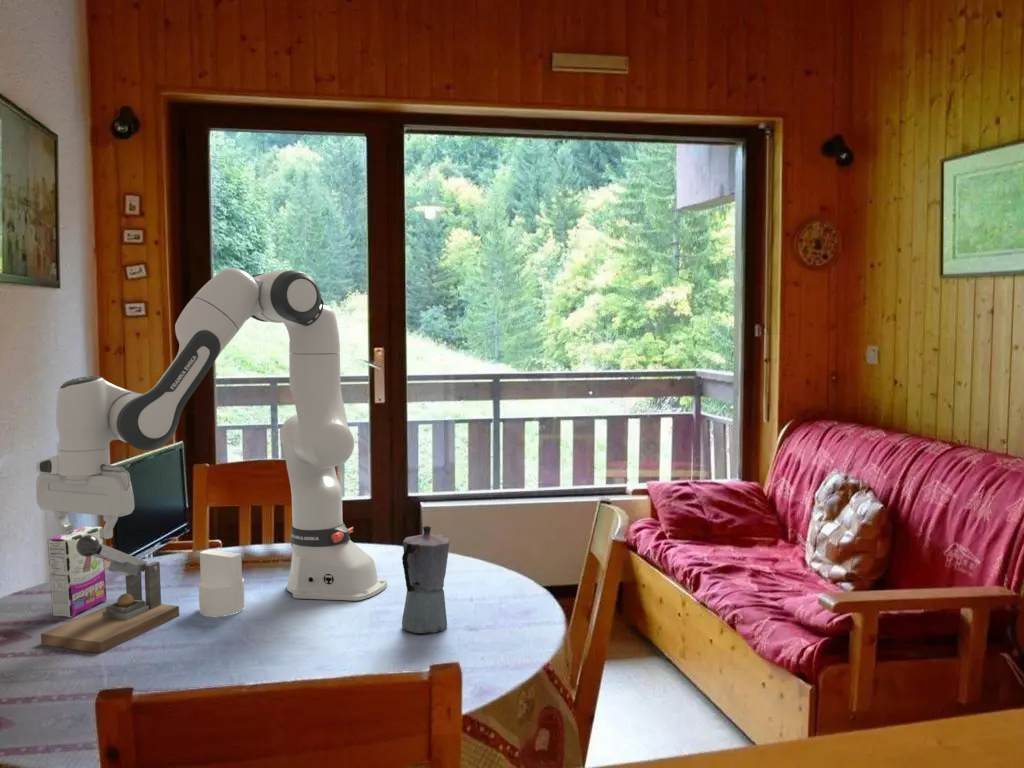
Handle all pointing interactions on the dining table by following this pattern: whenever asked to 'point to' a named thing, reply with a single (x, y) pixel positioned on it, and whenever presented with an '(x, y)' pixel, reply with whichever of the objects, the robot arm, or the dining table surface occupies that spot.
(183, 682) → the dining table surface
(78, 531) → the candy bar box
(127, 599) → the nut
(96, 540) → the lever
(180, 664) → the dining table surface
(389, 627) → the dining table surface
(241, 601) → the white stepped block
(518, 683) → the dining table surface
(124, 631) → the nutcracker bench
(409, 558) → the moka pot
